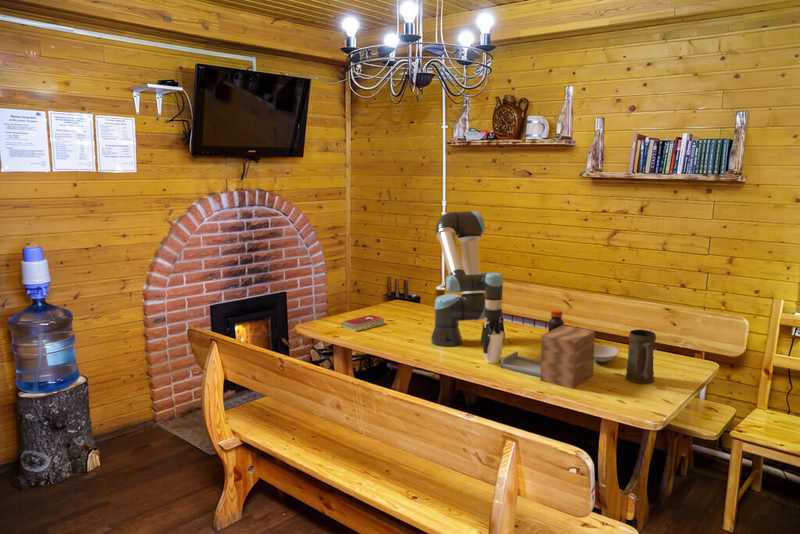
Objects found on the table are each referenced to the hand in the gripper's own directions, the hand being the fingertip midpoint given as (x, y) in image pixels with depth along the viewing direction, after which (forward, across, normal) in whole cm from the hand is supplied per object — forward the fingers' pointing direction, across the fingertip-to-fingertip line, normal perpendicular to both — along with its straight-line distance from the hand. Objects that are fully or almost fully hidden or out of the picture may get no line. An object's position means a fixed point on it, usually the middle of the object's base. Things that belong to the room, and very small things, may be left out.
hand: (492, 356), depth 258 cm
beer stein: (+2, +16, -60) cm, 62 cm away
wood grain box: (+2, 0, -35) cm, 35 cm away
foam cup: (+2, 0, 0) cm, 2 cm away
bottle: (+2, +27, -17) cm, 32 cm away
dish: (+2, +29, -38) cm, 48 cm away
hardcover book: (+2, +4, +85) cm, 85 cm away
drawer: (+2, 0, -18) cm, 18 cm away
